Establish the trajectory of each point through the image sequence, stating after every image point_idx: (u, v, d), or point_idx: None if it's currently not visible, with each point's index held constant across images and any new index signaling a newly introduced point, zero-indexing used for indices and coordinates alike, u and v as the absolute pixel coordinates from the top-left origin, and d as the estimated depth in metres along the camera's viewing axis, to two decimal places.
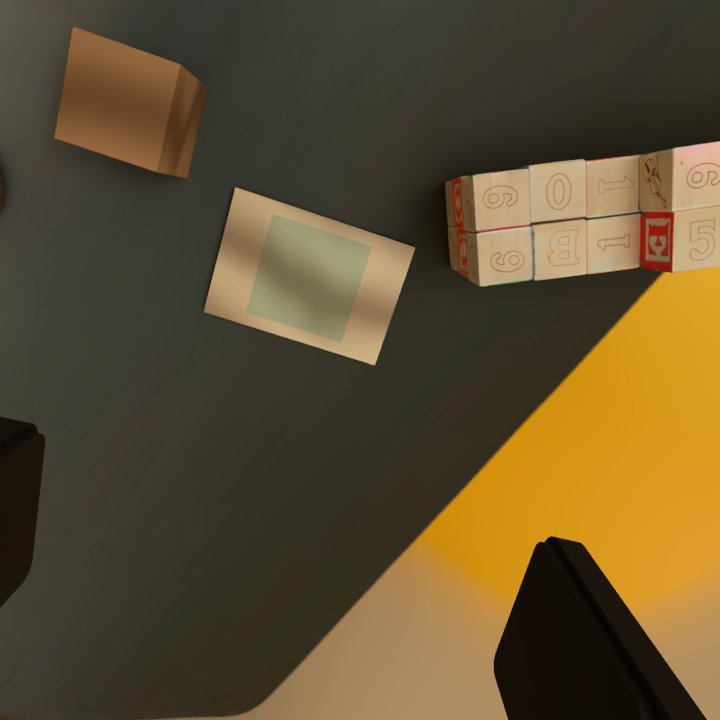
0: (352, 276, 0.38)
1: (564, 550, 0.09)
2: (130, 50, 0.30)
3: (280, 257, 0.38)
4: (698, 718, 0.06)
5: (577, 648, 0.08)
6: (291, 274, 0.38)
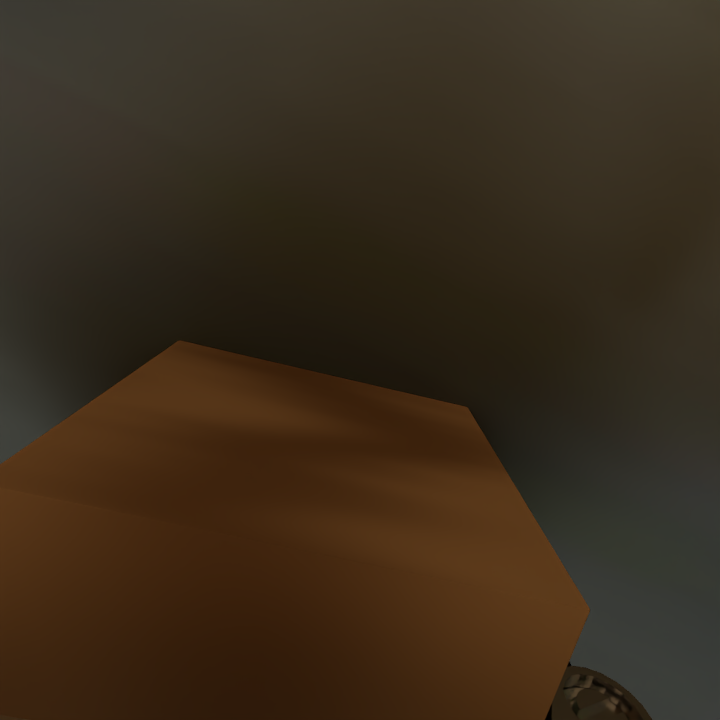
0: None
1: None
2: None
3: None
4: None
5: None
6: None
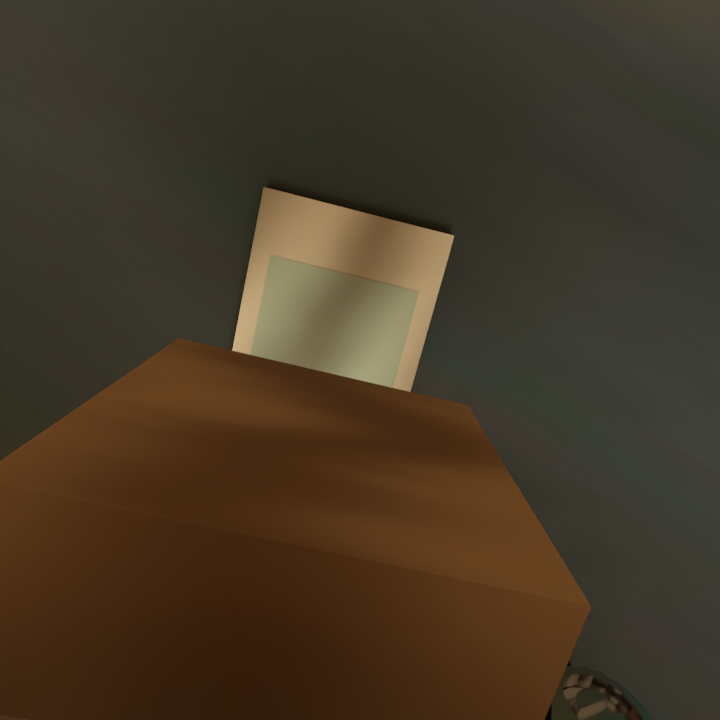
0: None
1: None
2: None
3: (357, 304, 0.26)
4: None
5: None
6: (334, 322, 0.26)
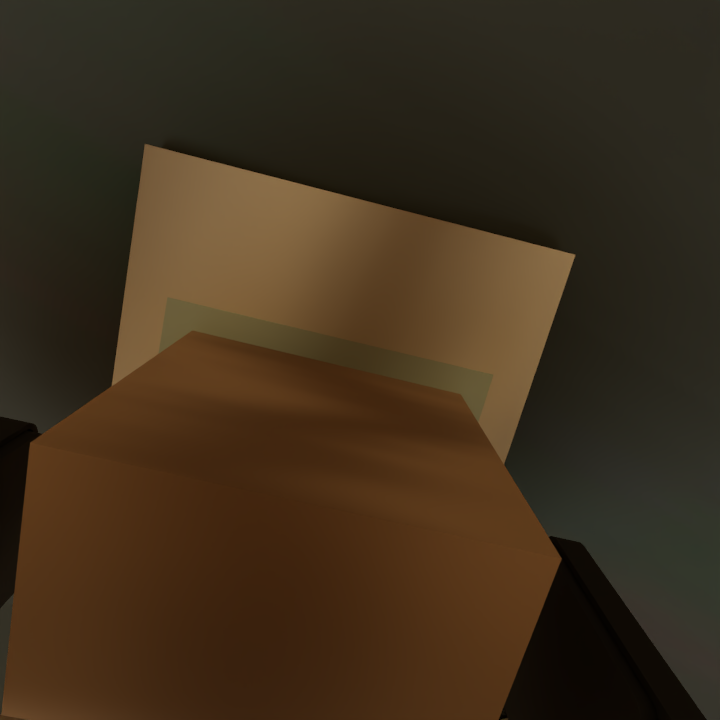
0: None
1: (564, 550, 0.09)
2: None
3: None
4: (697, 717, 0.06)
5: (577, 648, 0.08)
6: None
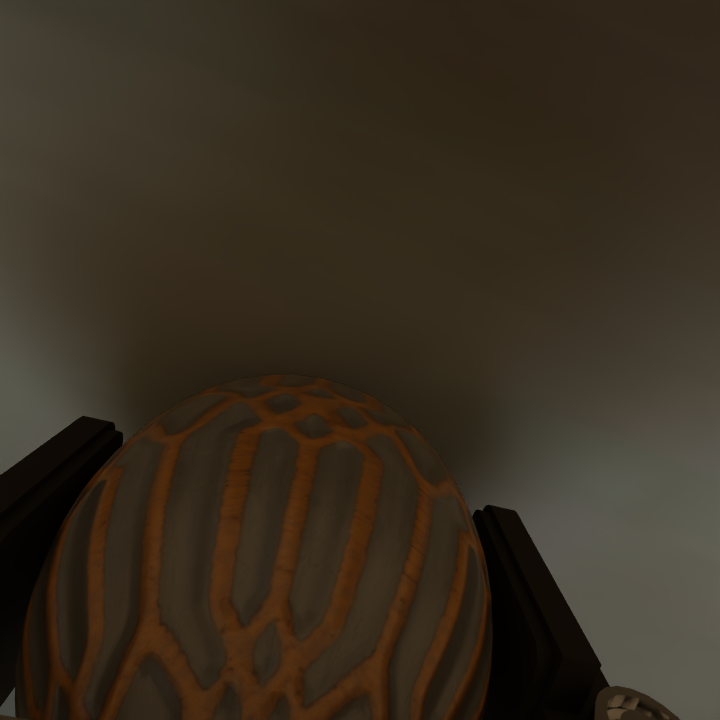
0: None
1: (496, 516, 0.10)
2: None
3: None
4: (589, 654, 0.07)
5: (497, 601, 0.09)
6: None
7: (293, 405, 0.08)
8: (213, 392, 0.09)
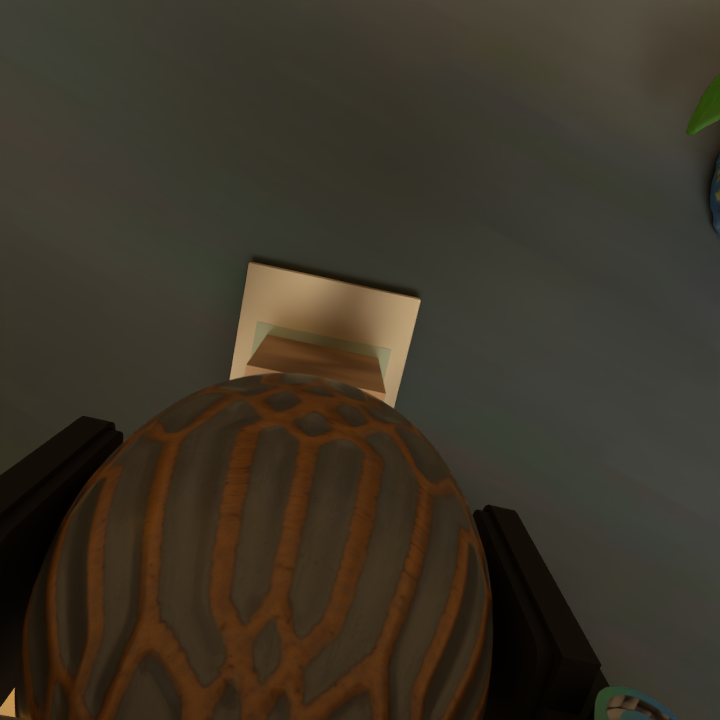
0: None
1: (496, 516, 0.10)
2: None
3: None
4: (589, 654, 0.07)
5: (497, 601, 0.09)
6: None
7: (293, 403, 0.08)
8: (213, 390, 0.09)
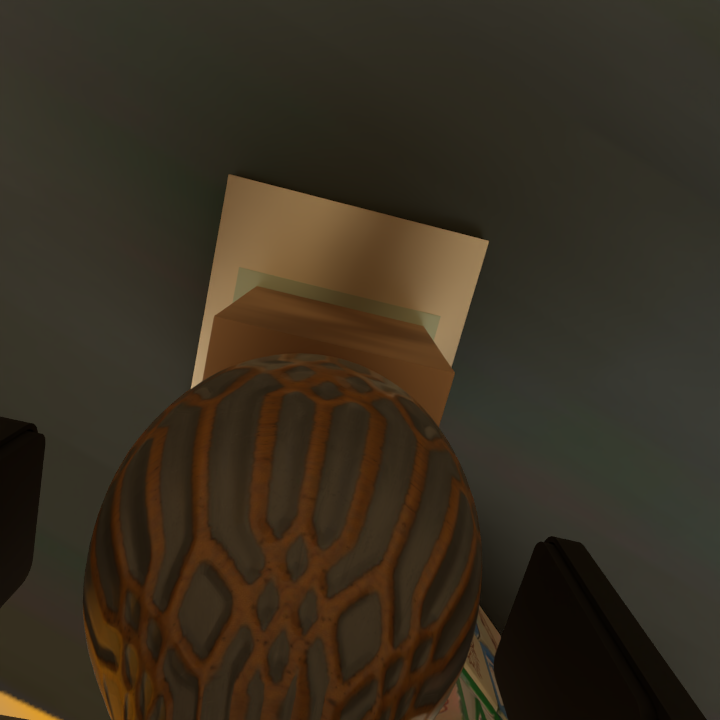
0: None
1: (564, 550, 0.09)
2: None
3: None
4: (698, 717, 0.06)
5: (577, 648, 0.08)
6: None
7: (309, 374, 0.09)
8: (238, 367, 0.10)
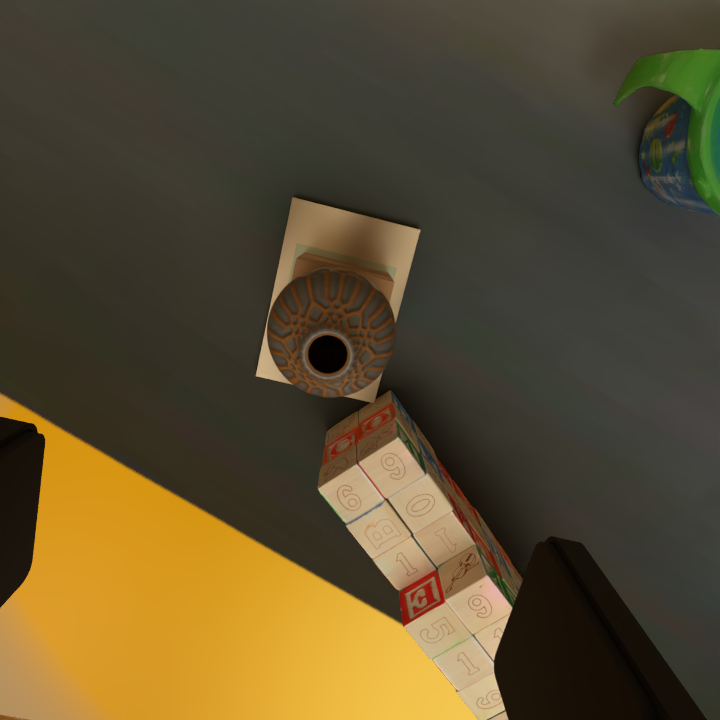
0: None
1: (564, 550, 0.09)
2: None
3: None
4: (698, 717, 0.06)
5: (577, 648, 0.08)
6: None
7: (338, 269, 0.28)
8: None
